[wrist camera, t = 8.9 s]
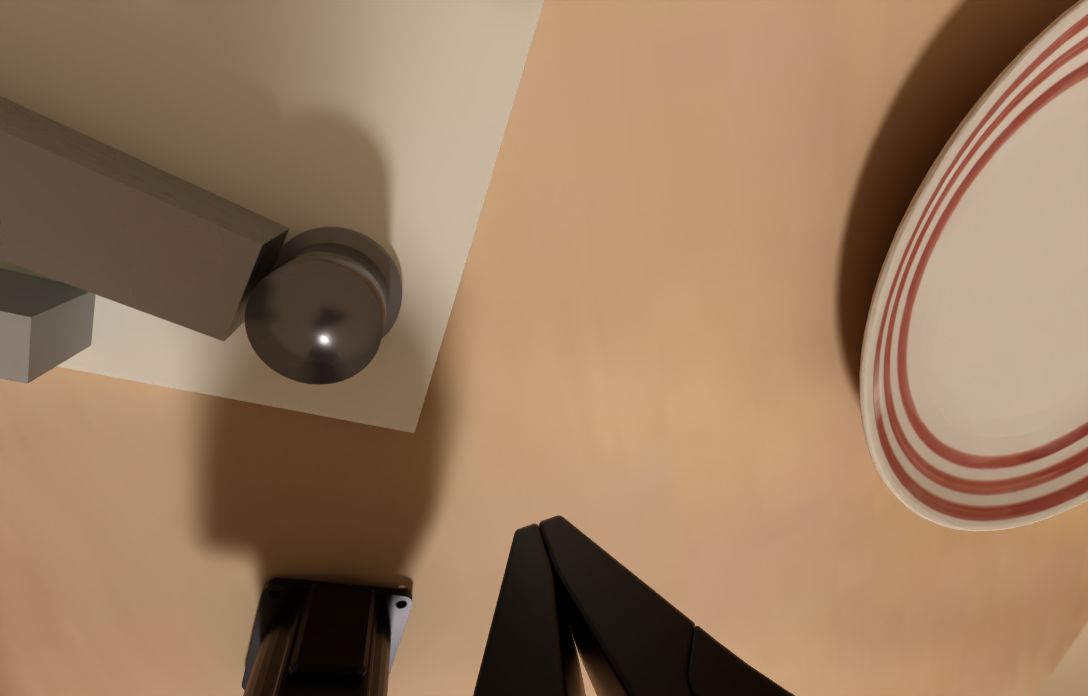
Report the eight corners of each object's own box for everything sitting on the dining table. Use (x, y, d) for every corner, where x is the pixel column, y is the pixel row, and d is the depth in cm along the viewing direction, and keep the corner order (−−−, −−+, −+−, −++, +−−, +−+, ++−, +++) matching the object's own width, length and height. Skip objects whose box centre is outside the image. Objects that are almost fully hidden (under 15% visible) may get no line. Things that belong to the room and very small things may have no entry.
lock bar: (406, 272, 18) (402, 297, 15) (364, 361, 18) (353, 401, 16) (-174, 3, 12) (-357, -41, 10) (-197, 143, 13) (-373, 142, 10)
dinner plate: (1380, -26, 24) (1516, -50, 21) (1137, 465, 34) (1206, 496, 31) (885, -65, 19) (973, -105, 16) (771, 529, 29) (811, 574, 26)
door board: (414, 421, 22) (413, 476, 18) (-249, 292, 15) (-456, 336, 12) (557, -60, 17) (595, -118, 13) (-338, -533, 10) (-746, -896, 7)
